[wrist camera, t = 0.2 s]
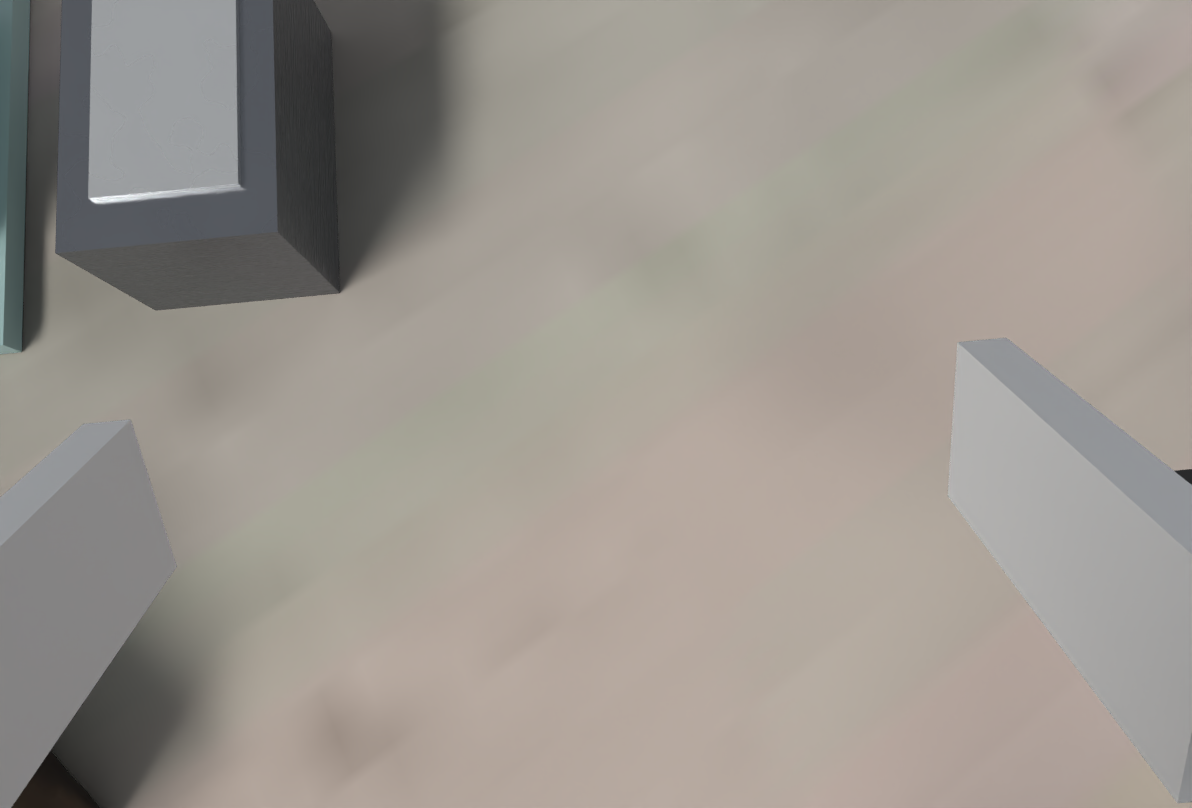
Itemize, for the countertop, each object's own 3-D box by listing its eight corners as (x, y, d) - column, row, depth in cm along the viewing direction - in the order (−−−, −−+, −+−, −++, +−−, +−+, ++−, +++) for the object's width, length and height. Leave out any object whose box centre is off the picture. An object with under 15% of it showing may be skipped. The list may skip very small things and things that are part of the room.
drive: (341, 294, 33) (275, 229, 27) (157, 311, 33) (51, 250, 27) (332, 34, 35) (268, -81, 29) (158, 52, 35) (59, -59, 29)
